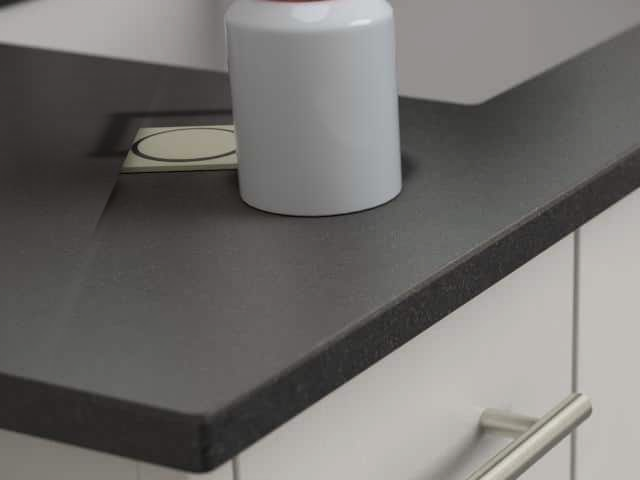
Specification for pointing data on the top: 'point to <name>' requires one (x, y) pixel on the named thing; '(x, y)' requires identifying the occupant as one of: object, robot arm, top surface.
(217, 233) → the top surface
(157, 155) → the coaster
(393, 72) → the pill bottle
